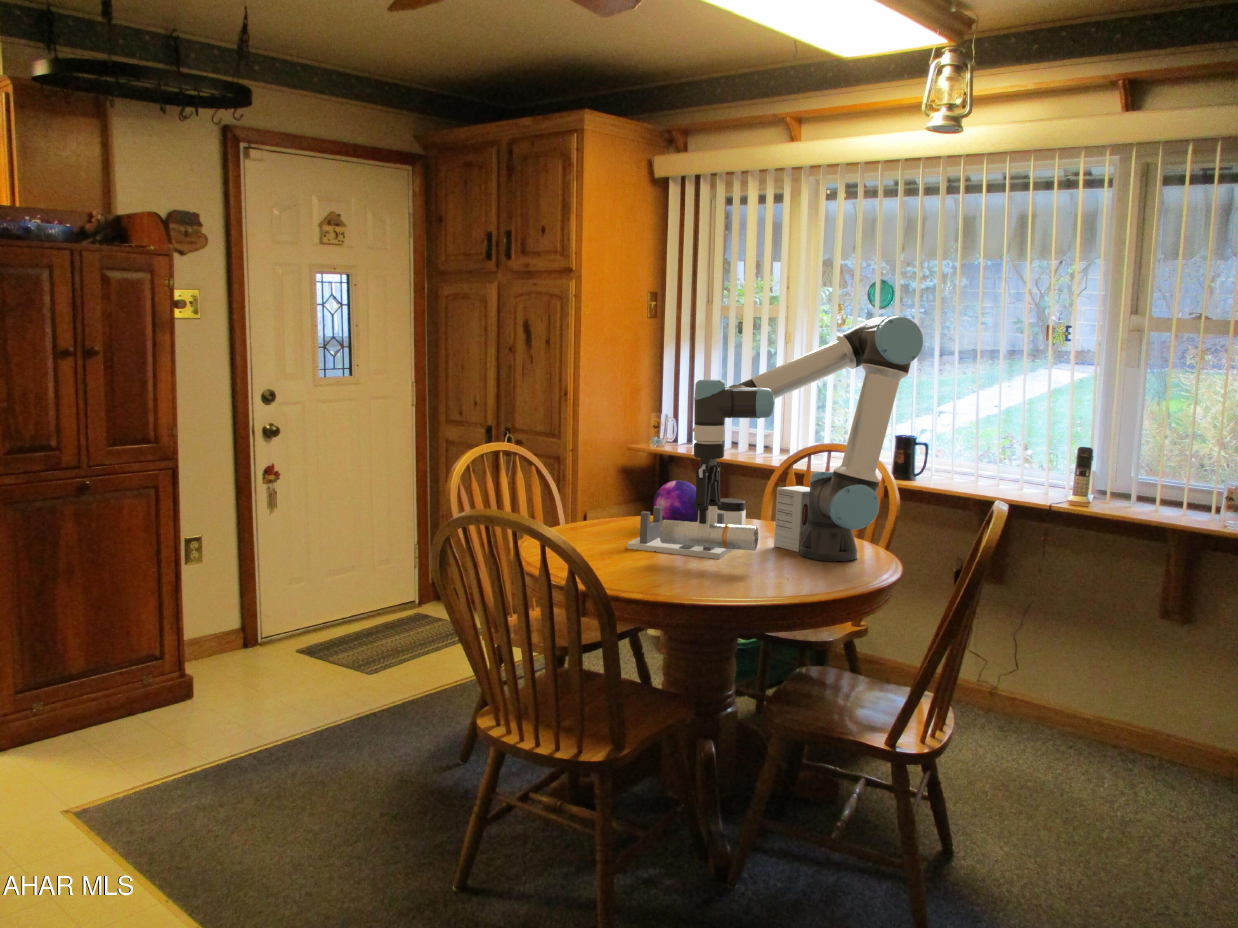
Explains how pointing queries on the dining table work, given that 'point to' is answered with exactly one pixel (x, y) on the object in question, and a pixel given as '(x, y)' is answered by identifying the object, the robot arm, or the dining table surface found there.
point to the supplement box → (791, 517)
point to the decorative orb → (677, 501)
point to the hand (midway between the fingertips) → (707, 533)
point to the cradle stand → (652, 542)
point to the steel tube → (718, 535)
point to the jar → (733, 511)
